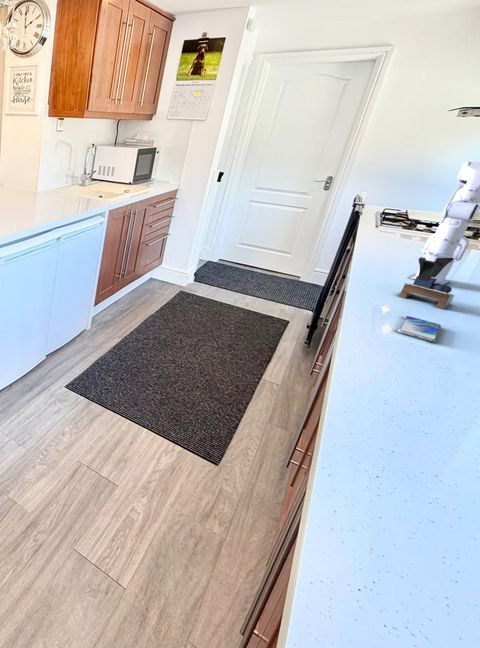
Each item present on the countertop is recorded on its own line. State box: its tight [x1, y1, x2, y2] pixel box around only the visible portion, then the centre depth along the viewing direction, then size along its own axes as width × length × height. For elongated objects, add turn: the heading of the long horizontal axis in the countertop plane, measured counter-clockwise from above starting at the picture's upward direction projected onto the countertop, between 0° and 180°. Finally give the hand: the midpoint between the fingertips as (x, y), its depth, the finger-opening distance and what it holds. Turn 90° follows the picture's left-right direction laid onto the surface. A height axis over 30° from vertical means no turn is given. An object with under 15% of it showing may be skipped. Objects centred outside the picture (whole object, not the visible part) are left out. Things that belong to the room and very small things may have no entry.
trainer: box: [411, 276, 453, 294], centre depth 132 cm, size 8×4×4 cm, turn 30°
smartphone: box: [397, 315, 442, 343], centre depth 113 cm, size 7×1×15 cm
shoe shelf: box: [398, 283, 456, 310], centre depth 133 cm, size 7×10×5 cm
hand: (426, 278), depth 133 cm, fingers open, 7 cm apart
